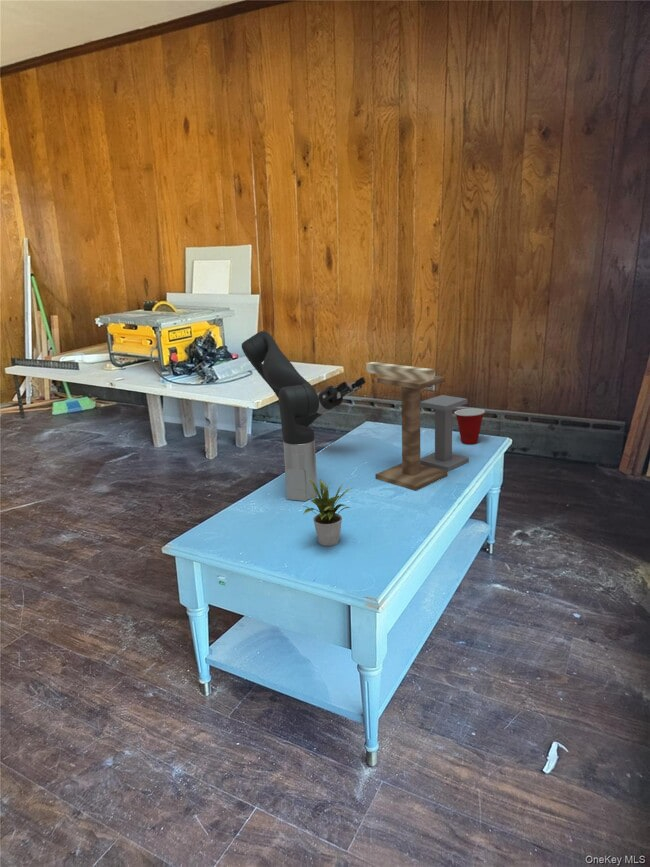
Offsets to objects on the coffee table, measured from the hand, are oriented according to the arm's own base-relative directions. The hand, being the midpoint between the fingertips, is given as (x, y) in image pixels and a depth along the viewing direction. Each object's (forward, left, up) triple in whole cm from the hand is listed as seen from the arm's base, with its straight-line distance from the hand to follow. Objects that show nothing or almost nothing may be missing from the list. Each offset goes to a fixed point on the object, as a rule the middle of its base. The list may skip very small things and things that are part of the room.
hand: (355, 382), depth 197 cm
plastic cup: (+30, -33, -28) cm, 53 cm away
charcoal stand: (+6, -28, -28) cm, 40 cm away
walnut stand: (-10, -21, -28) cm, 36 cm away
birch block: (-8, -17, +4) cm, 19 cm away
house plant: (-58, -10, -28) cm, 65 cm away
